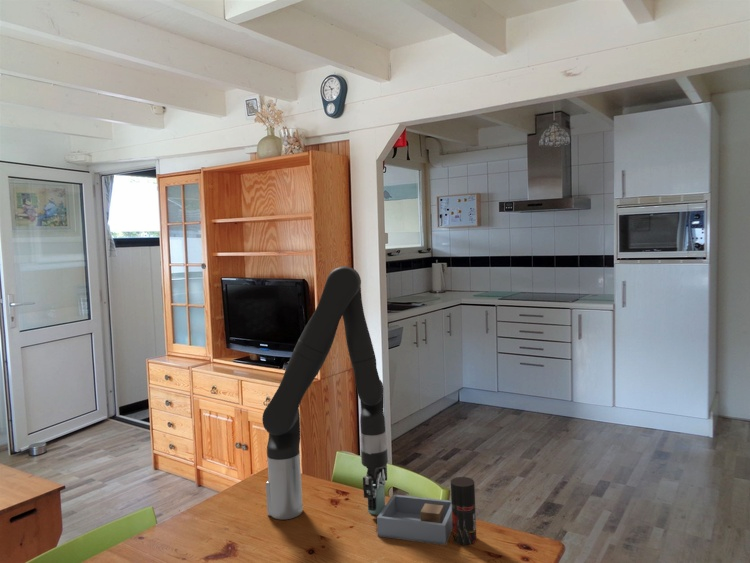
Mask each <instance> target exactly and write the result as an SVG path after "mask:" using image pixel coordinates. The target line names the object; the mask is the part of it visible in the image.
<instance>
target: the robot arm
mask: <svg viewBox="0 0 750 563" xmlns="http://www.w3.org/2000/svg"><path fill="white" fill-rule="evenodd" d="M361 285H362V280H361V276H360V274H359V272H358V271H357V270H356V269H354V268H353V267H352V266H351V267H350V266H347V265H346V266H344V265H343V266H339V267H336V268H334V269H333V270H331V271H330V273H329V274H328V276H327V278H326V281H325V284H324V287H323V290H322V293H321V296H320V298H319V301H318V304H317V306H316V308H315V310H314V312H313V313H312V315H311V317H310V318H309V320H308V322H307V323H306V325H305V327H304V328H303V331H302V332H301V334H300V336H299V338H298V340H297V342H296V345H295V346H294V348H293V351H292V353H291V355H290V358H289V359H288V360H289V361H288V363H287V365H286V368H285V371H284V374H283V377H282V379H281V381H280V384H279V386H278V388H277V389H276V392H275V393H274V395H273V397H272V398H271V399H270V401H269V402H268V404H267V406H266V407H265V408H264V410H263V414H262V426H263V427H264V429H265V431H266V432H267V433H268V440H267V446H266V460H267V474H268V475H267V476H268V480H267V481H266V482H265V494H266V511H267V515H268V516H270V517H271V518H272V519H275V520H291V519H294V518H297V517H298V516H301V514H302V513H303V509H304V508H303V490H302V475H301V474H302V472H301V471H302V470H301V457H300V456H301V455H300V443H301V418H300V415H301V414H300V409H299V407H300V404H301V402H302V400H303V398H304V397H305V394H306V392H307V390H308V389H309V388H310V386H311V385H312V383H313V382H314V380H315V379H316V377H317V375H318V374H319V372H320V371H321V368H322V367H323V365H324V364H325V361H326V359H327V356H328V355H329V353H330V350H331V348H332V345H333V343H334V340H335V337H336V333H337V330H338V327H339V324H340V322H341V319H342V320H343V324H344V325H343V326H344V332H345V340H346V345H347V349H348V350H347V351H348V354H349V355H348V356H349V359H350V362H351V363H350V364H351V366H352V370H353V374H354V380H355V386H356V391H357V396H358V398H359V400H360V412H361V413H360V420H359V421H360V457H361V464H362V466H363V467H365V468H366V469H367V471H366V476H363V477H362V486H363V490H362V491H363V498H365V499H367V498H368V499H367V510H368V509H369V510H371V511H375V510H376V490H377V489H378V488H379V483H380V484H383V485H384V489H386V488H385V486H386V481H388V465H387V464H388V462H389V460H388V458H389V454H388V439H387V434H386V419H385V418H386V417H385V412H384V408H385V407H384V406H385V405H384V400H385V399H384V398H385V396H384V394H385V392H384V390H385V389H384V388H385V387H384V384H383V382H382V380H381V379H380V375H379V372H378V369H377V357H376V353H375V349H374V345H373V341H372V338H371V334H370V331H369V328H368V324H367V320H366V316H365V311H364V307H363V305H364V304H363V299H362V288H361V287H362V286H361ZM373 484H376V485H375V486H373ZM373 489H374V491H373Z"/></svg>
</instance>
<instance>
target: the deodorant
mask: <svg viewBox="0 0 750 563" xmlns="http://www.w3.org/2000/svg"><path fill="white" fill-rule="evenodd" d="M450 499H451V500H450V501H451V504H452V541H453V543H455V544H456V545H459V546H462V547H463V546H465V547H466V546H472V545H474V544H476V542H477V520H476V518H477V517H476V516H477V514H476V492H475V480H474V479H472V478H471V477H466V476H456V477H453V478H452V479H451V480H450Z"/></svg>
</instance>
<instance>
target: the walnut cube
mask: <svg viewBox="0 0 750 563" xmlns="http://www.w3.org/2000/svg"><path fill="white" fill-rule="evenodd" d="M420 514H421V521H426V522H434V523H442V522H443V520H444V509H443V505H435V504H426V503H425V505H424V506H423V508H422V510H421V512H420Z"/></svg>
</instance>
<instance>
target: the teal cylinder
mask: <svg viewBox="0 0 750 563" xmlns="http://www.w3.org/2000/svg"><path fill="white" fill-rule="evenodd" d="M375 485H376V484H373V486H375ZM384 486H385V485H383V484H380V483H379V488H378V489H377V490H376V510H375V511H371V510H369V509H368V508H367V513H369V514H370V515H375V516H378V515H379V514H380V512H381V511H382V510H383V508H384V507H385V505H386V490H385V489H386V488H385V489H384ZM373 491H374V489H373ZM366 499H367V500H368V498H366Z"/></svg>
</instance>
